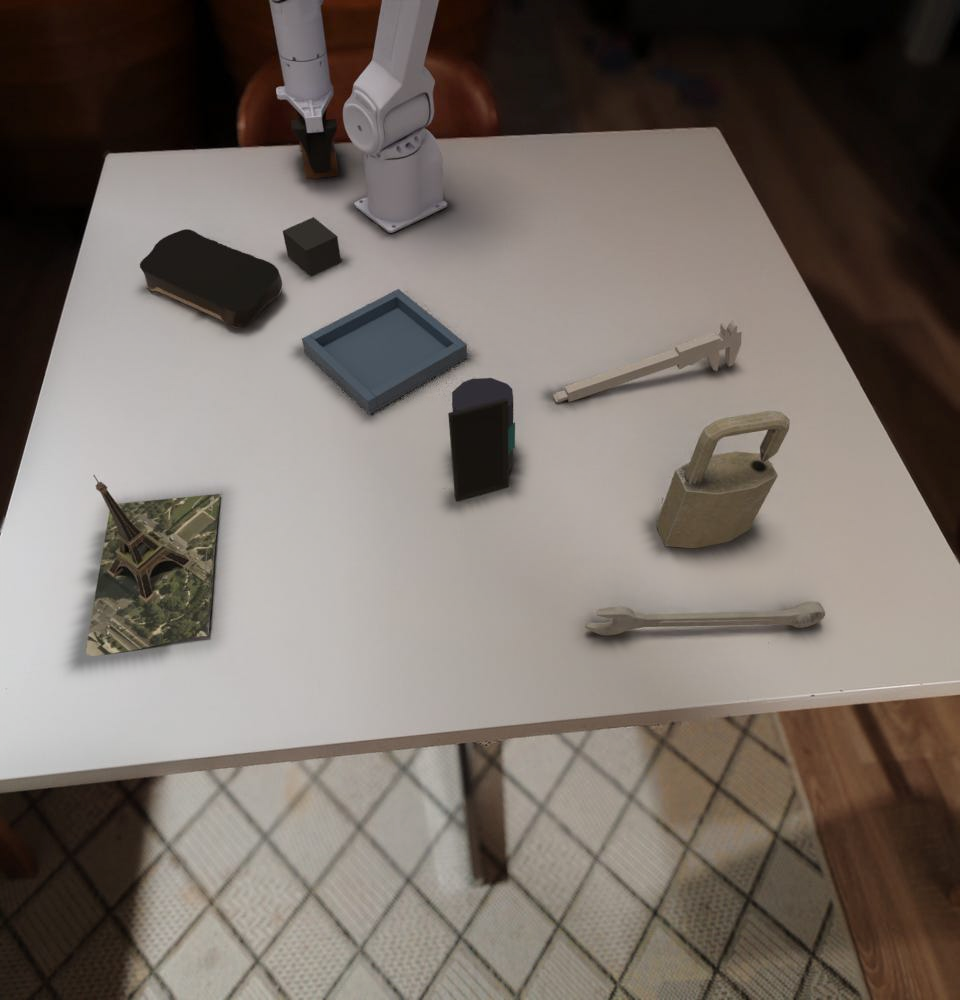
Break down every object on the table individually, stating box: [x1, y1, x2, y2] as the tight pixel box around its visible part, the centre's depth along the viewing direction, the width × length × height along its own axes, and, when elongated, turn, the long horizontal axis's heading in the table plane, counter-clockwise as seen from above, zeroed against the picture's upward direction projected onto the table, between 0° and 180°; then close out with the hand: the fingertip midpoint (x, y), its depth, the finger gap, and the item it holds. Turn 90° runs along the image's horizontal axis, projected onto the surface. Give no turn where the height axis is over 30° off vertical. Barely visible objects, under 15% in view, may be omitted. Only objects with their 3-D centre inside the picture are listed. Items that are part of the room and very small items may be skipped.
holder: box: [301, 288, 468, 415], centre depth 83 cm, size 13×12×2 cm
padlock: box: [655, 410, 791, 549], centre depth 65 cm, size 4×8×15 cm, turn 103°
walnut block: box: [299, 140, 340, 180], centre depth 104 cm, size 4×5×4 cm
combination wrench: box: [585, 601, 826, 636], centre depth 63 cm, size 4×1×20 cm
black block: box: [282, 216, 342, 277], centre depth 92 cm, size 4×5×4 cm
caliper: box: [552, 319, 743, 404], centre depth 79 cm, size 20×1×6 cm, turn 107°
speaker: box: [447, 377, 516, 502], centre depth 71 cm, size 8×6×10 cm
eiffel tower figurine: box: [85, 474, 221, 657], centre depth 62 cm, size 15×10×13 cm
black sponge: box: [139, 228, 283, 329], centre depth 88 cm, size 16×8×4 cm, turn 59°
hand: (319, 157), depth 104 cm, fingers open, 6 cm apart
